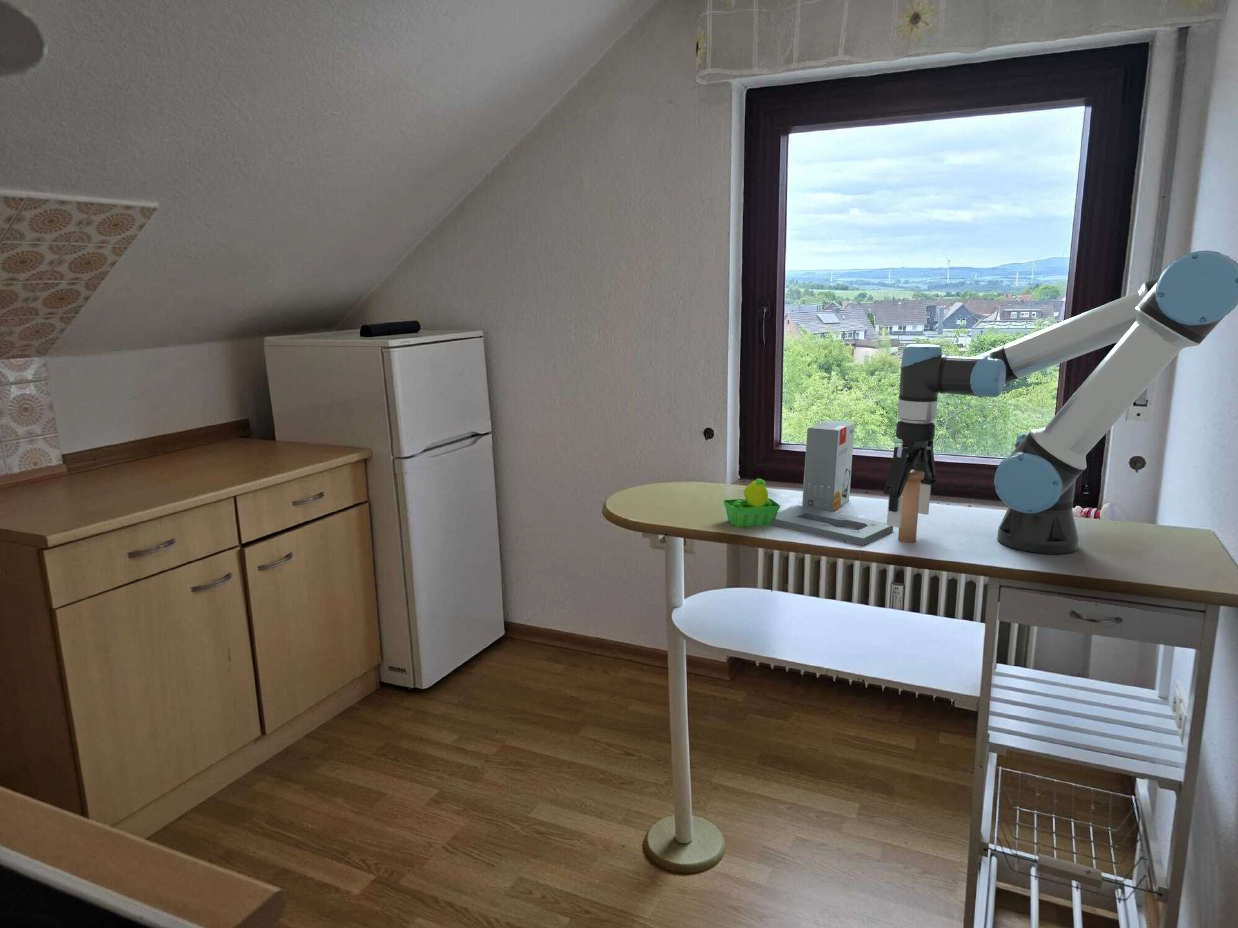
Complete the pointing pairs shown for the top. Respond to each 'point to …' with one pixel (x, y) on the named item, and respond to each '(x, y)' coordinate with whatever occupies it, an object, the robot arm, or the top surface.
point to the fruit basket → (752, 506)
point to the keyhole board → (822, 522)
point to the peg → (910, 507)
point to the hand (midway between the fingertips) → (908, 519)
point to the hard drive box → (828, 465)
